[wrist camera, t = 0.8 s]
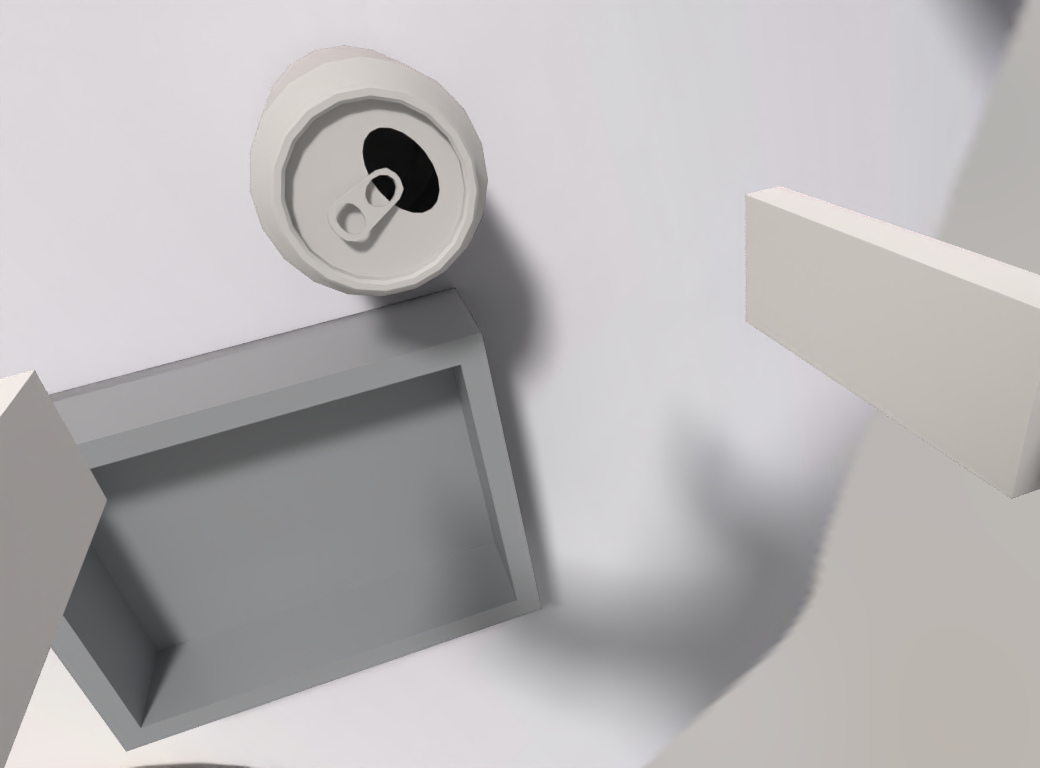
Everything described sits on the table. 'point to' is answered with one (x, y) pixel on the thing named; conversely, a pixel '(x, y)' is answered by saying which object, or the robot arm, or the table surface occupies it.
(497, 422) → the bin
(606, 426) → the table surface
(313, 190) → the can
